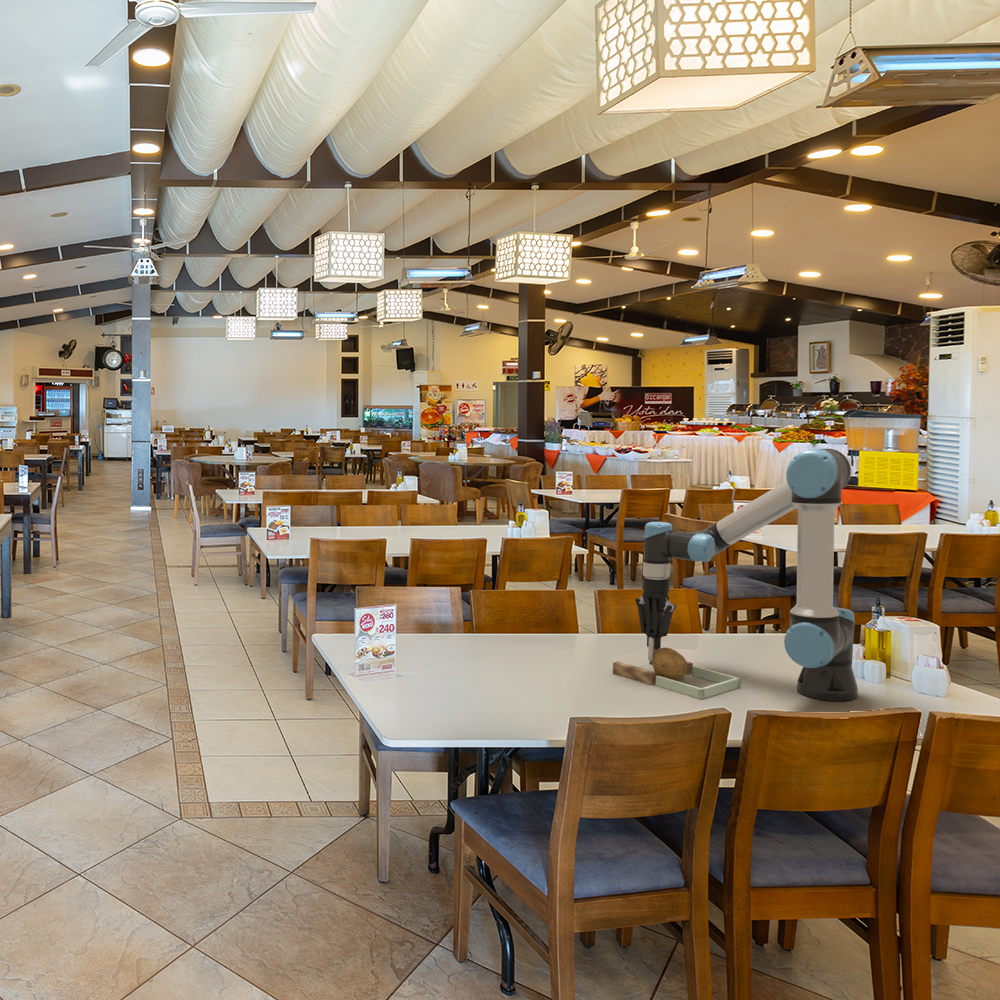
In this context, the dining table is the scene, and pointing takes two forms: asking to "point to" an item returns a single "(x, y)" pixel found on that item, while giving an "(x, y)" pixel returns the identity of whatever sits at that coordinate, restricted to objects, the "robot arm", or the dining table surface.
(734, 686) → the frame
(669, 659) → the potato
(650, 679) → the channel
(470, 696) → the dining table surface
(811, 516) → the robot arm
